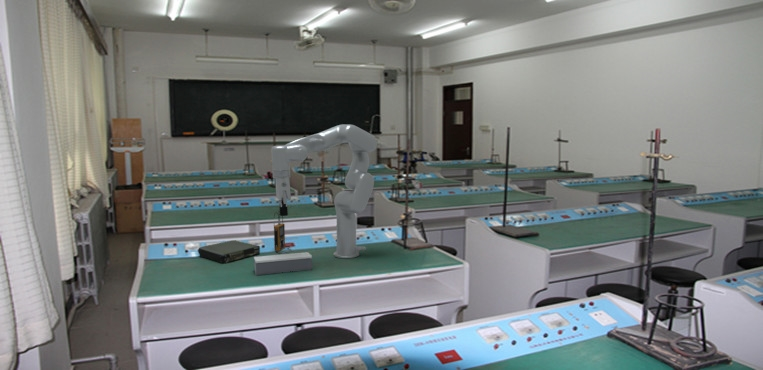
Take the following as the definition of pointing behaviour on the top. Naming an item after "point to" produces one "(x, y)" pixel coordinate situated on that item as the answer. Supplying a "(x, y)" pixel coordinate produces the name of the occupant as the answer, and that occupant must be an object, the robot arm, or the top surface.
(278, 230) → the multimeter
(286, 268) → the block
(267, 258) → the panel
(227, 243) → the network switch
